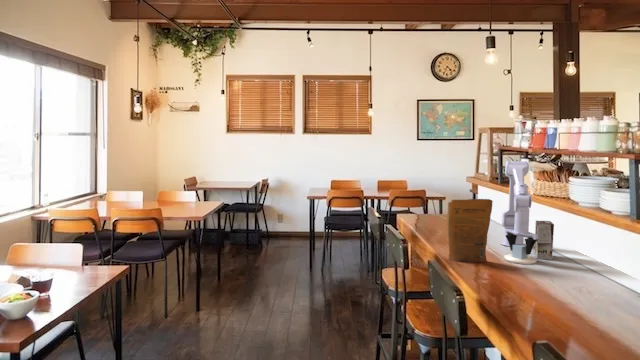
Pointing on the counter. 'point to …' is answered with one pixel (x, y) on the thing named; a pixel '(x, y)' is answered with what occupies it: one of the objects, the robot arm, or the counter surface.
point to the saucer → (520, 261)
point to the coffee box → (544, 239)
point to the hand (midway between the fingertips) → (520, 252)
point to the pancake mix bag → (468, 229)
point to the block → (519, 251)
